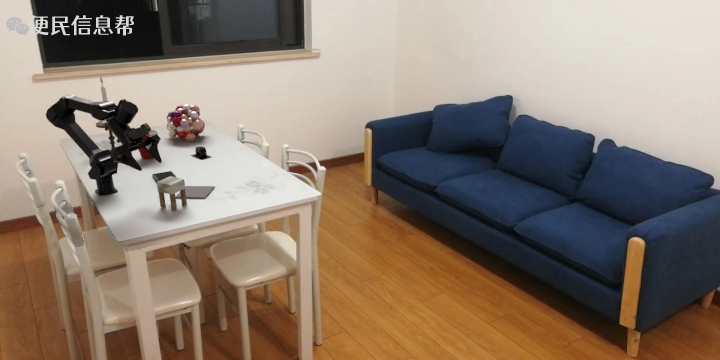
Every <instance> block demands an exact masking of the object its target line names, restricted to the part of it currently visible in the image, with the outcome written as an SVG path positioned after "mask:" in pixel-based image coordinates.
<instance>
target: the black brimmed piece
mask: <svg viewBox="0 0 720 360" xmlns="http://www.w3.org/2000/svg"><path fill="white" fill-rule="evenodd" d="M207 153H208V152H207V149H206V147H204V146H202V145H201V146H197V147H195V153H194V154H191V155H189V156H191V157H193V158H195V159H198V160H200V161H203V160H208V159H210V158H212V156H211V155H208V154H207Z"/></svg>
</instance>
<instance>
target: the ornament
mask: <svg viewBox="0 0 720 360" xmlns="http://www.w3.org/2000/svg"><path fill="white" fill-rule="evenodd" d="M200 111H201V110H200V107H199V106H198V105H196V104H192V105H190V104H189V103H186V104H184V105H183V104H179V105H177V106H176V108H175V110H174V111H169V112H168V113H167V116H166V122H167V124H166V129H167V130H168V131H169V133H168V136H169V138H171V139H176V138H180V139H184V138H185V140H186V141H187V142H189V143H190V142H194V141H195V140H196V138H198V137H199V135H200V134H202V133H203V132H204V130H205V126H206V123H205V122H204V120H202V118H200V115H201V113H200Z"/></svg>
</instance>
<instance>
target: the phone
mask: <svg viewBox="0 0 720 360" xmlns="http://www.w3.org/2000/svg"><path fill="white" fill-rule="evenodd" d="M170 176H171V177H176V178H178V177H177V176H176V175H175V174H174V172H173V171H171V170H170V171H169V170H168V171H163V172H157V173H153V174H152V176H151V177H152V178H153V180H154V181H155V182H156V184H157V182H158V181H161V180H163V179H165V178H167V177H170Z"/></svg>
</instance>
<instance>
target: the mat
mask: <svg viewBox="0 0 720 360" xmlns="http://www.w3.org/2000/svg"><path fill="white" fill-rule="evenodd" d="M215 188H216V187H215V186H214V185H213V186H211V185H185V193H186V199H202V200H203V199H206V198H207V197H208V196H209V195H210V194H211V193H212V191H213V190H214V189H215ZM175 197H176V199H181V194H180V192H179V193H177V194H176V195H175Z"/></svg>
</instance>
